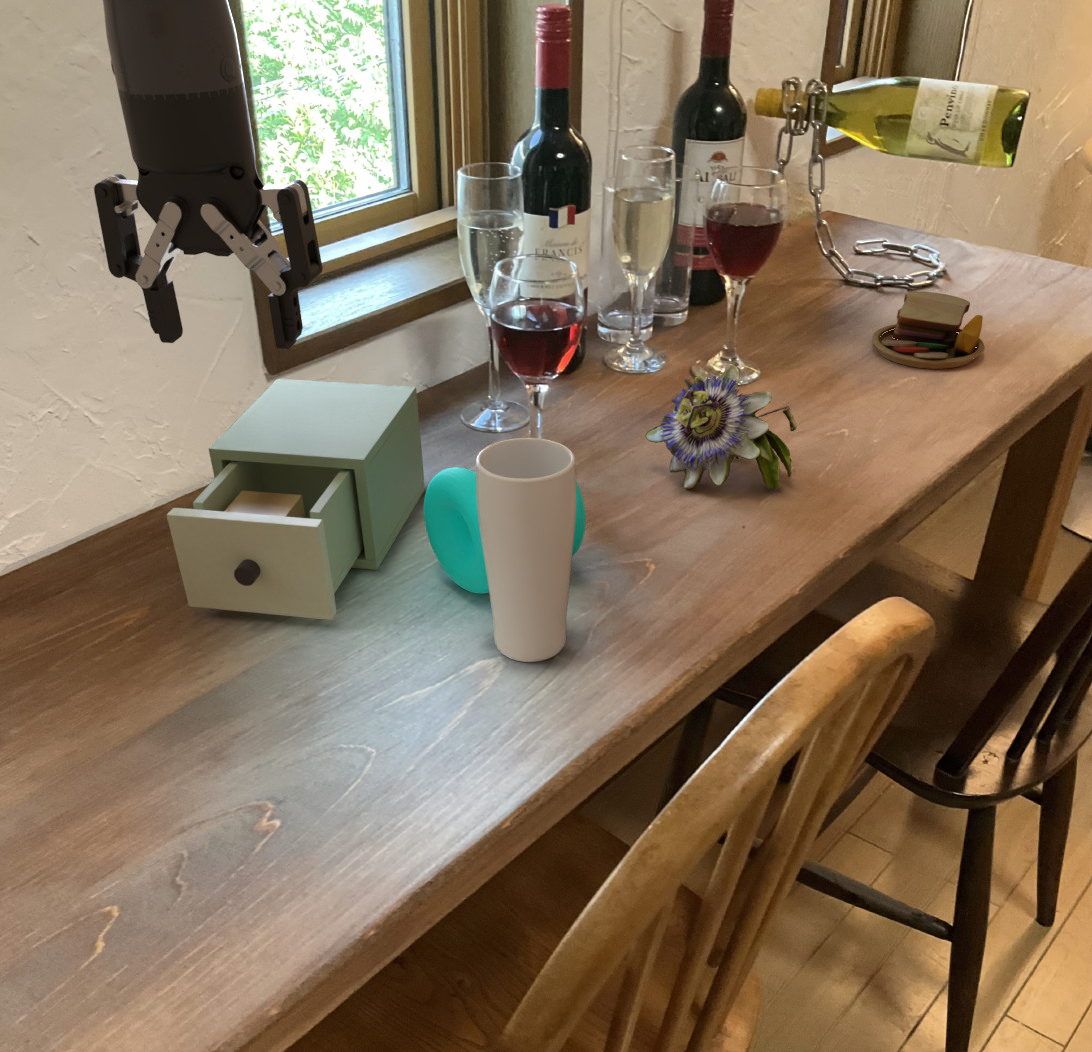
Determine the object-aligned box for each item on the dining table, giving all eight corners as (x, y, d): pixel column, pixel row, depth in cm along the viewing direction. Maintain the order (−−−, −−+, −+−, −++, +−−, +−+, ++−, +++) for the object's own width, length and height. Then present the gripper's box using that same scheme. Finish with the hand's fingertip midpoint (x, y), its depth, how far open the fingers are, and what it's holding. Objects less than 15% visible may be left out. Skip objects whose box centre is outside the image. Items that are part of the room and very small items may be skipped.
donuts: (592, 577, 92) (593, 463, 85) (491, 619, 87) (485, 501, 81) (519, 531, 98) (516, 421, 92) (422, 567, 93) (411, 454, 87)
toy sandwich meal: (855, 359, 128) (861, 317, 125) (891, 324, 137) (899, 284, 134) (965, 379, 123) (975, 336, 120) (996, 341, 132) (1006, 300, 129)
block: (228, 577, 88) (216, 520, 85) (252, 546, 92) (241, 490, 89) (289, 582, 88) (278, 525, 84) (311, 551, 91) (302, 494, 88)
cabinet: (377, 570, 93) (363, 459, 87) (231, 557, 95) (208, 448, 89) (425, 489, 104) (416, 386, 98) (293, 479, 106) (277, 378, 100)
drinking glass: (470, 660, 83) (457, 470, 73) (507, 613, 88) (499, 430, 78) (555, 679, 81) (553, 487, 71) (588, 630, 85) (591, 444, 76)
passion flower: (689, 538, 107) (619, 435, 103) (736, 475, 113) (672, 374, 109) (784, 506, 99) (712, 391, 94) (829, 439, 105) (764, 328, 100)
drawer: (326, 629, 84) (311, 535, 80) (181, 615, 86) (158, 522, 81) (384, 534, 96) (374, 446, 91) (256, 523, 98) (239, 437, 93)
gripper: (312, 69, 70) (344, 330, 81) (102, 65, 73) (158, 319, 83) (267, 91, 65) (307, 368, 75) (40, 85, 67) (109, 356, 77)
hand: (229, 342), depth 79 cm, fingers open, 8 cm apart
